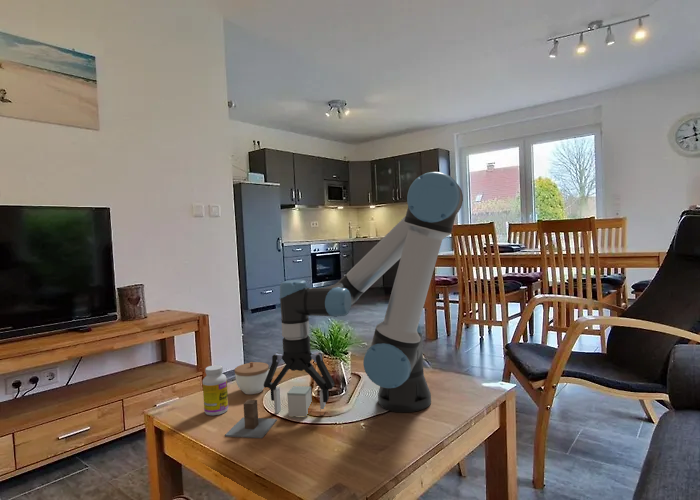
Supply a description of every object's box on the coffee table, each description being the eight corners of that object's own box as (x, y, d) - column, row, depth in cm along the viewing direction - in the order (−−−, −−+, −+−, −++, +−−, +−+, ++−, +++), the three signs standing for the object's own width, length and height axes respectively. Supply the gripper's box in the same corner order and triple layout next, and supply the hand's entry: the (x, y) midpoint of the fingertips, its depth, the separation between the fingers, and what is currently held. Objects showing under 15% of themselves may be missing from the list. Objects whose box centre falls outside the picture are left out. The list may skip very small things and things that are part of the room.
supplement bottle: (221, 416, 120) (218, 371, 119) (200, 416, 121) (196, 371, 121) (232, 407, 127) (229, 363, 126) (212, 406, 128) (209, 363, 127)
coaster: (277, 420, 116) (277, 418, 116) (262, 438, 106) (262, 436, 106) (242, 418, 118) (242, 417, 118) (225, 436, 108) (224, 434, 108)
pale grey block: (312, 409, 122) (311, 386, 121) (306, 417, 117) (305, 393, 116) (294, 408, 123) (293, 386, 123) (288, 416, 118) (287, 393, 117)
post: (258, 426, 113) (257, 399, 113) (254, 430, 111) (252, 403, 110) (249, 425, 114) (247, 399, 113) (245, 430, 111) (243, 403, 111)
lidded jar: (276, 389, 139) (275, 360, 139) (249, 400, 131) (247, 369, 131) (256, 382, 146) (255, 355, 146) (229, 392, 138) (227, 363, 138)
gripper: (342, 333, 120) (346, 408, 121) (259, 333, 125) (264, 405, 126) (336, 340, 113) (340, 420, 114) (248, 339, 118) (253, 416, 119)
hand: (300, 412), depth 120 cm, fingers open, 12 cm apart
